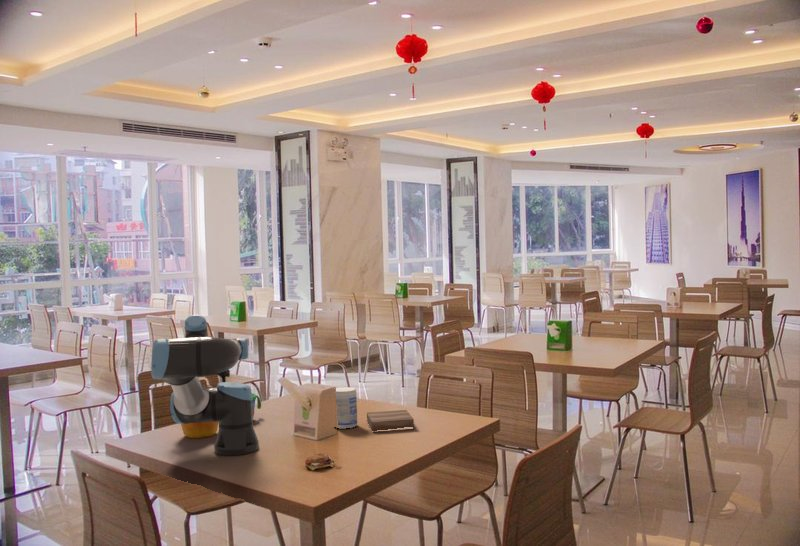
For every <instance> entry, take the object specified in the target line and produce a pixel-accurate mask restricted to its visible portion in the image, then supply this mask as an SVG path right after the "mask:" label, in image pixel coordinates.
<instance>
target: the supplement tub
mask: <svg viewBox="0 0 800 546" xmlns="http://www.w3.org/2000/svg"><path fill="white" fill-rule="evenodd" d="M357 395H358V394H357V389H356V388H355V387H352V386H351V387H350V386H349V387H348V386H346V387H345V386H344V387H336V405H337V421H338V428H339V429H340V430H347V429H346V428H350V429H354V428H356V427H357V426H358V403H357V402H358V401H357V400H358V397H357ZM355 426H356V427H355ZM353 427H354V428H353ZM339 429H338V430H339Z"/></svg>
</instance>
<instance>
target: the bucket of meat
mask: <svg viewBox="0 0 800 546" xmlns="http://www.w3.org/2000/svg"><path fill="white" fill-rule="evenodd" d="M206 388H213V386H212V385H207V386H206ZM180 426H181V429H182V432H183V435H184V436H185V437H186V438H188V439H205V438H211V437H212V436H215V434H216V433H217V431H218V429H219V421H214V422H198V423H188V424H180Z"/></svg>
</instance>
